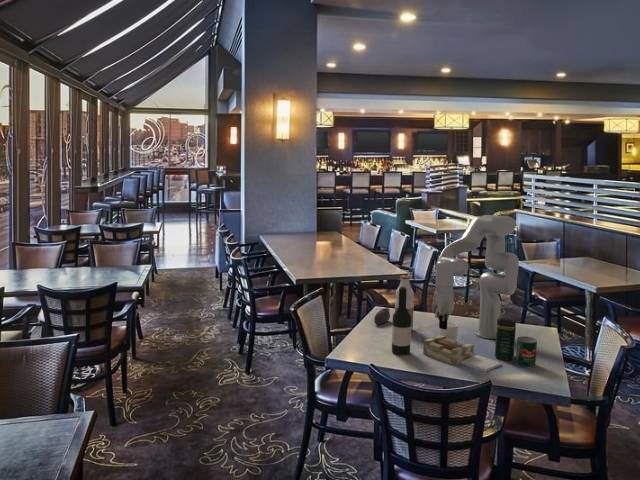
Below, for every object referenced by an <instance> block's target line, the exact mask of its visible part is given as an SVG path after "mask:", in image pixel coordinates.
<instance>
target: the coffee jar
mask: <svg viewBox="0 0 640 480" xmlns="http://www.w3.org/2000/svg"><path fill="white" fill-rule="evenodd" d="M516 327H517V320H516V317H515V316H513V315H511V314H500V316H499V317H498V319H497V331H496V339H495V347H494V356H495V358H496V359H500V360H501V361H502V360H504V361H507V360H508V361H511V360H513V359H514V355H515V342H516V329H517V328H516Z"/></svg>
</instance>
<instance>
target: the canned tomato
mask: <svg viewBox="0 0 640 480" xmlns="http://www.w3.org/2000/svg"><path fill="white" fill-rule="evenodd" d="M537 344H538V340H537V338H534V337H531V336H518V337H517V338H516V355H515V364H516V366H518V367H521V368H527V369H532V368H535V367H536V362H537V350H538V349H537V346H538V345H537Z"/></svg>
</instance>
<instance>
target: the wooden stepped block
mask: <svg viewBox="0 0 640 480" xmlns="http://www.w3.org/2000/svg"><path fill="white" fill-rule="evenodd" d="M443 339H446V340H449V341H453V342H456V343H458V340H456V341H455V340H452V339H449V338H446V336H444V335H441V334H440V335H436V336H434V337H431V338H427V339H424V340H423V348H422V350H423V353H422V354H423V355H426V356H429V357H431V358H434V359H436V360H439V361H443V362H445V363H448V364H451V365H454V366H455V365H458V364H461V361H463V360H465V359H468V358H471V357H474V346H475V345H474V344H473V343H466V344H462V345H463V346H460V347H457V348H454V349H451V350H448V349H445V348H443V346H442V345H439V344H437V343H438V341H440V340H443Z"/></svg>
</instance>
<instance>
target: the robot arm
mask: <svg viewBox="0 0 640 480" xmlns="http://www.w3.org/2000/svg"><path fill="white" fill-rule="evenodd" d="M516 225H517V224H516V221H515V218H513V217H512V216H508V215H507V216H506V215H495V214H486V215H485V214H484V215H478V216H475V217H474V218H472V220H471V222H469V225H468V226H467V228H466V230H465V231H464V232H463V235H462V236H461V237H460V238H459V239H457V240H455V241H453V242H451V243H450V244H448V245H447V246H445V247H444V248H443V250H442V251H441V253H440V254H439V256H438V258H437V260H436V263H435V291H434V293H433V298H432V304H431V305H432V307H431V312H432V314H434V318H436V319H438V322H439V323H438V329H440V330H441V329H444V330H445V329H447V322H448V321H449V318H450V317H449V316H451V315H452V314H453V312H454V310H455V297H454V296H455V295H454V277H460V276H461V277H462V276H464V275H465V274H467V273H468V271H469V268H470V267H469V263H468V262H467V261H466V260H465V259H463V258H458V257H455V256H458V255H460V254H464V253H468V252H471V251H472V252H473V251H475V250H476V249H478V248H479V246H480V244H481V243H482V241H483V239H484V237H485V239H486V248H485V249H486V250H485V258H484V265H485V267H486V268H487V269H488V270H491V272H490V271H489V272H484V273H482V274H481V275H479V280H478V282H479V283H478V284H479V292H480V294H479V295H480V303H479V319H478V329H477V330H475V333H474V334H475V336H477V337H479V338H482V339H487V340H488V339H489V340H496V331H497V319H498V317H499V316H501V299H500V298H501V297H500V296H499V295H504V296H511V295H513V294H514V293H516V288H517V283H518V277H519V275H518V274H519V267H520V264H519V263H520V261H519V257H518V256H517V255H516V254H515V253H513V252H508V251H507V252H506V251H505V250H506V249H505V247H506V239H505V237H504V236H508V235H512V234H513V232H515V229H516ZM492 271H498V272H504V273H503V274H502V273H496V272H492Z"/></svg>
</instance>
